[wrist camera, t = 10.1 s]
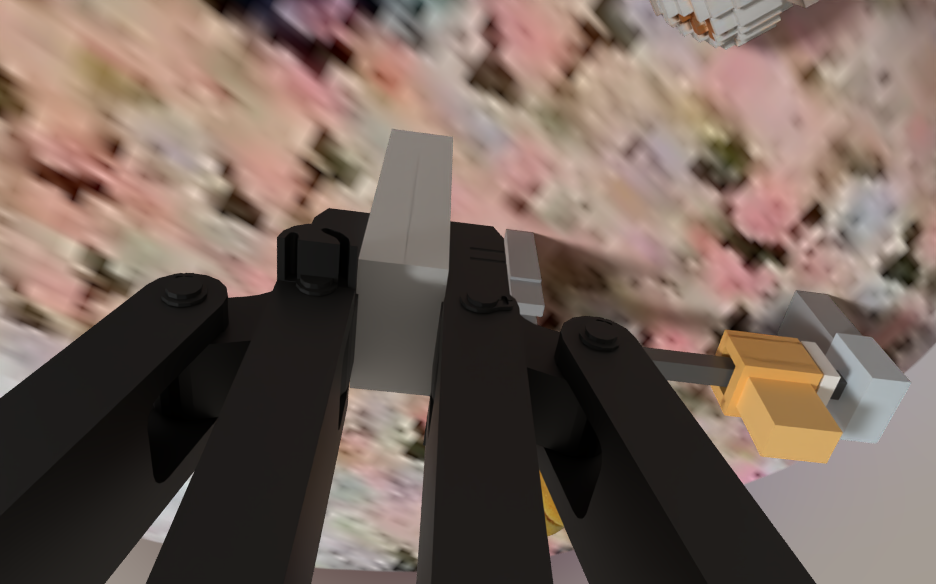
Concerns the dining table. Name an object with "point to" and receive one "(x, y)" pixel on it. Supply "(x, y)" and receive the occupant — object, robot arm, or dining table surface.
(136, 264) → the dining table surface
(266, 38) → the dining table surface
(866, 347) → the rod fixture
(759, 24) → the candy apple
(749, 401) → the orange rod clamp
